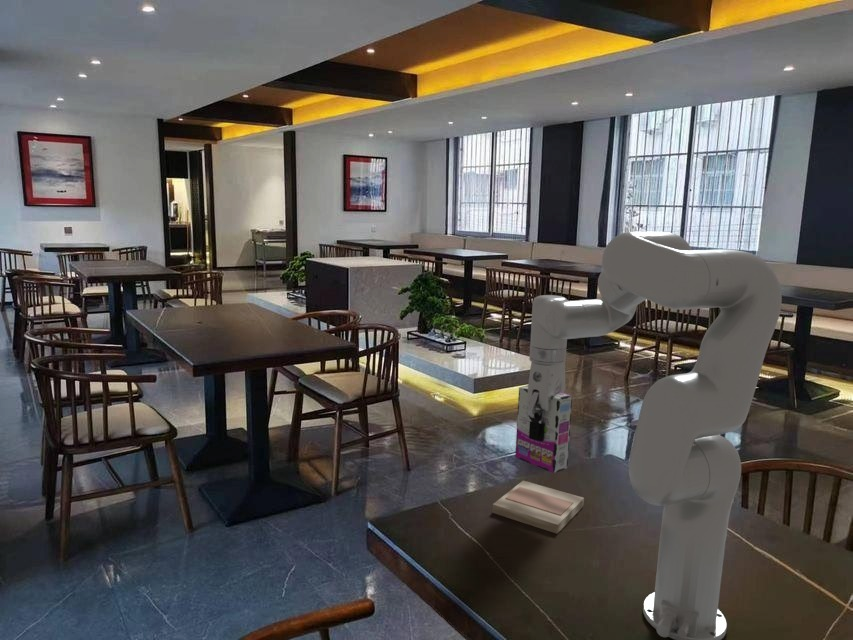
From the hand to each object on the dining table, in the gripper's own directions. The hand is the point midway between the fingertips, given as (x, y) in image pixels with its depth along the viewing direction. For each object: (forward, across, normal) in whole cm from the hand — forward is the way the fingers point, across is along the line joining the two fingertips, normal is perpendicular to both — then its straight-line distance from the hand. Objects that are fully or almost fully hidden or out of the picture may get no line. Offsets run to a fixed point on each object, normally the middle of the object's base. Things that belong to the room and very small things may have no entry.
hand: (542, 434), depth 136 cm
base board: (+17, 0, 0) cm, 17 cm away
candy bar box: (+7, 0, 0) cm, 7 cm away
